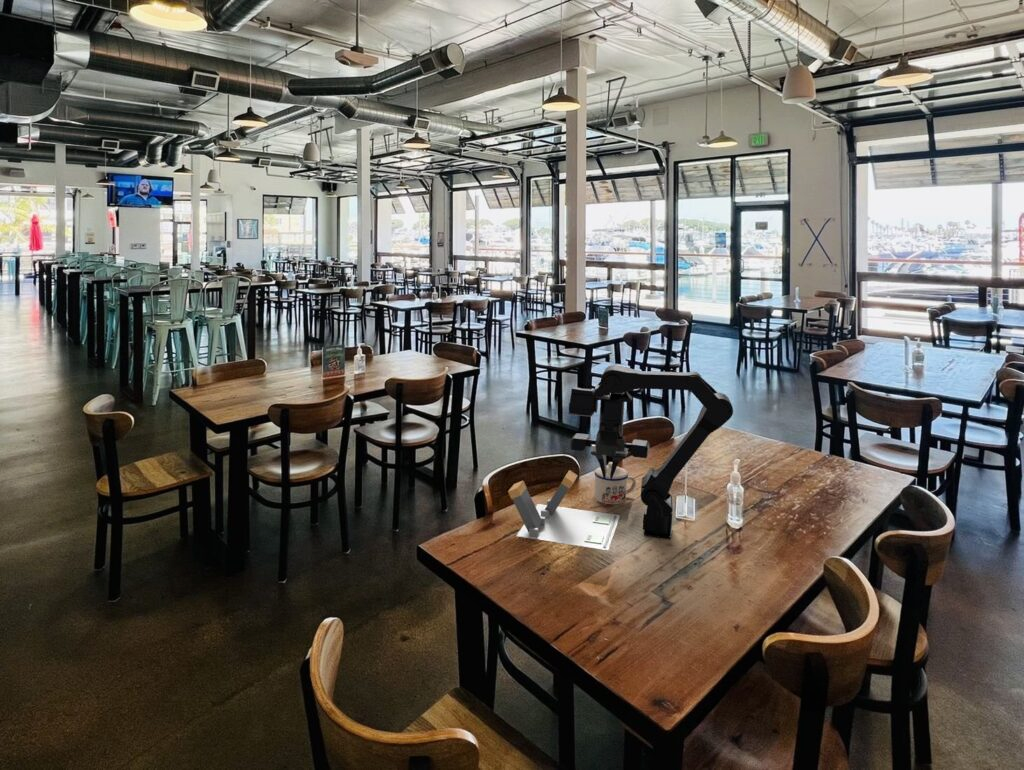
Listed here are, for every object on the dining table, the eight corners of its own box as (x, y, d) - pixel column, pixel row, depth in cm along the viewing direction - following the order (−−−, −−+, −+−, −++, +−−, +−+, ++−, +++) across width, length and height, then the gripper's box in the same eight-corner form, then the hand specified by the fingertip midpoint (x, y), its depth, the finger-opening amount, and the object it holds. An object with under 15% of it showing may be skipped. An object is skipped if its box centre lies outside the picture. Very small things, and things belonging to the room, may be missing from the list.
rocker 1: (542, 520, 158) (523, 480, 158) (537, 529, 154) (517, 488, 153) (533, 524, 159) (514, 483, 159) (528, 532, 154) (507, 491, 154)
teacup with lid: (600, 511, 172) (602, 469, 169) (588, 497, 181) (590, 458, 178) (641, 507, 175) (644, 466, 172) (627, 494, 184) (629, 455, 181)
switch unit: (619, 520, 166) (620, 508, 165) (607, 556, 148) (608, 542, 147) (537, 509, 172) (537, 496, 172) (516, 541, 154) (516, 528, 153)
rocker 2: (556, 508, 169) (577, 475, 165) (551, 516, 164) (573, 482, 160) (548, 502, 169) (569, 469, 165) (543, 510, 164) (564, 476, 160)
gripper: (566, 422, 152) (564, 484, 155) (647, 431, 146) (642, 495, 150) (576, 410, 162) (573, 469, 165) (651, 418, 157) (647, 478, 160)
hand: (608, 478), depth 160 cm, fingers closed
